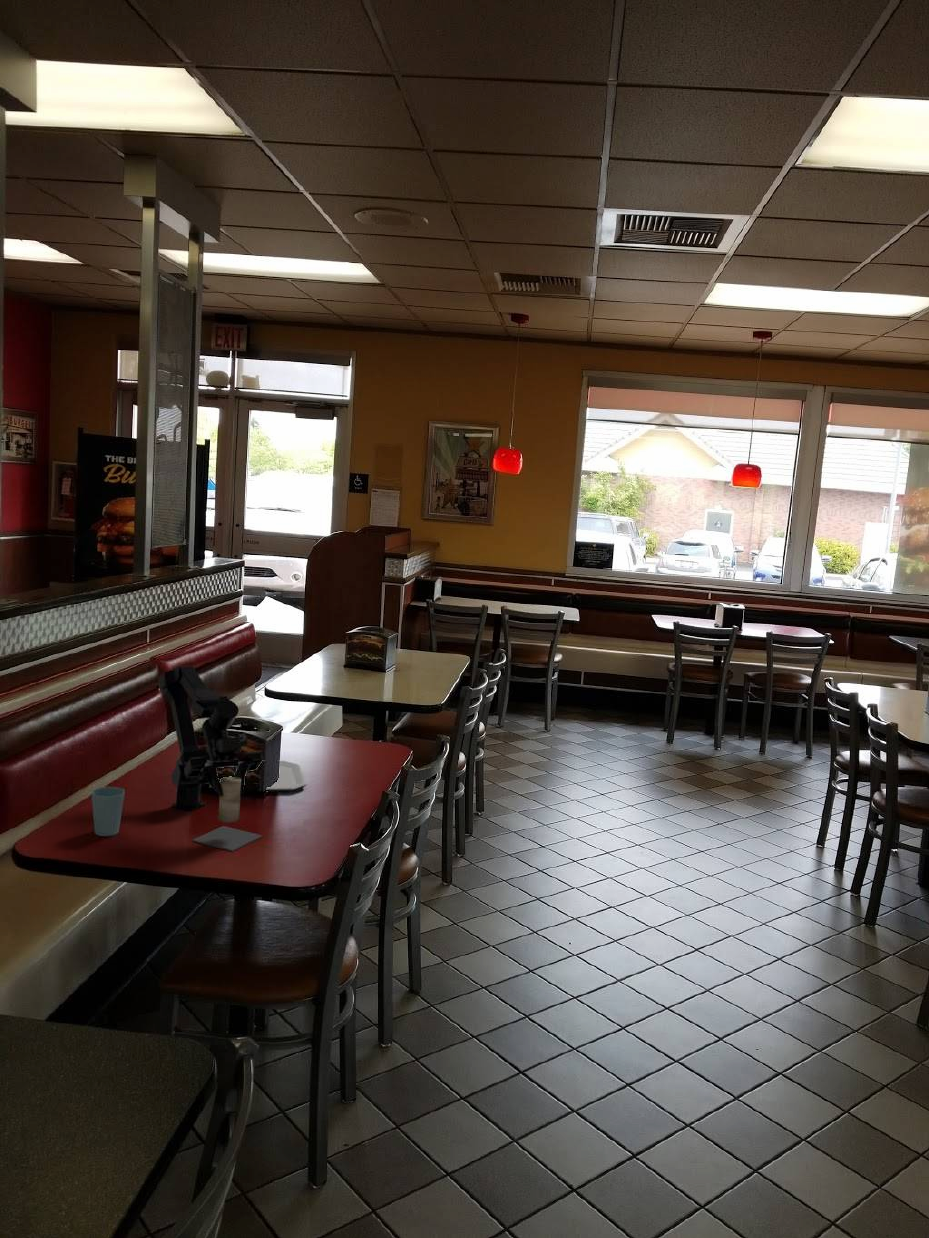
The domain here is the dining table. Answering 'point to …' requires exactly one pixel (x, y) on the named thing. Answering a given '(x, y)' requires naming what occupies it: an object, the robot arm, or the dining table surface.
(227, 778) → the beige cylinder
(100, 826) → the cup
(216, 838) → the placemat
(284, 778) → the plate
